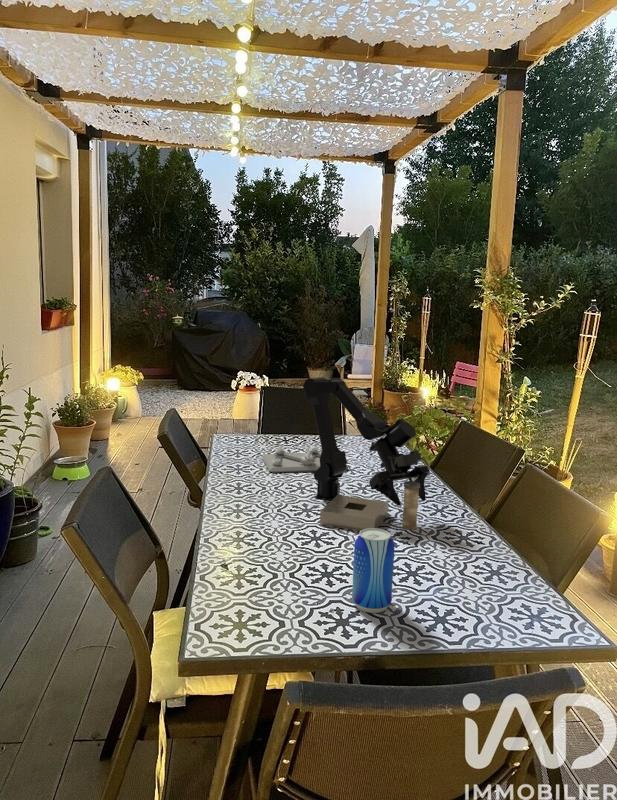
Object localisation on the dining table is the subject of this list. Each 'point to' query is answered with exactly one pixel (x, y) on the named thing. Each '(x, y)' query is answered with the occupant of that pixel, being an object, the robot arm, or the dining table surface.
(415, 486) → the ash pin
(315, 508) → the dining table surface
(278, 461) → the grey linkage board
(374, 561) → the beer can
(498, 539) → the dining table surface
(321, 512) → the grey square block
